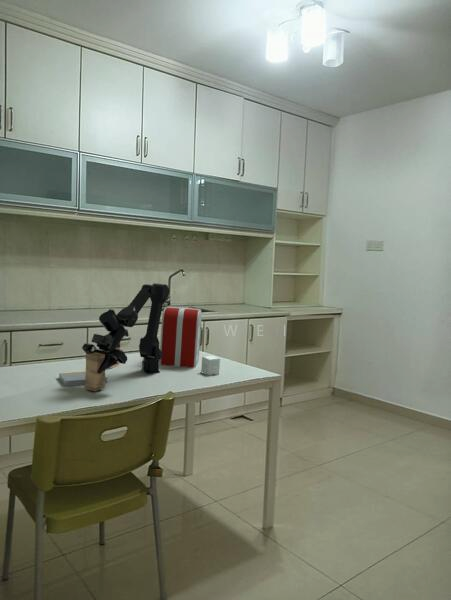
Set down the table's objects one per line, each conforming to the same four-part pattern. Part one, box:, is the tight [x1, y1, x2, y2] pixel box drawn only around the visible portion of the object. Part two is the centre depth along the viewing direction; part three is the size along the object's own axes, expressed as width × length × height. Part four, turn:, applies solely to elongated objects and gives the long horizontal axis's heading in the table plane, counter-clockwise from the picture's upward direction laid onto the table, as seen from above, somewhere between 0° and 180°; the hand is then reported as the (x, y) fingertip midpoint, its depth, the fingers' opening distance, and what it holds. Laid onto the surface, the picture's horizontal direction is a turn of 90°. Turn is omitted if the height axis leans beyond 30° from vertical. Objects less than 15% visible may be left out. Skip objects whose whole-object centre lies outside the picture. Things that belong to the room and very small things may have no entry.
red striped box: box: [159, 306, 203, 369], centre depth 223 cm, size 16×18×27 cm
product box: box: [200, 355, 221, 376], centre depth 208 cm, size 6×6×7 cm
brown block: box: [84, 353, 106, 392], centre depth 172 cm, size 5×5×13 cm
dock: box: [58, 370, 108, 387], centre depth 184 cm, size 16×12×2 cm
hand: (92, 371), depth 171 cm, fingers closed on brown block, 5 cm apart
